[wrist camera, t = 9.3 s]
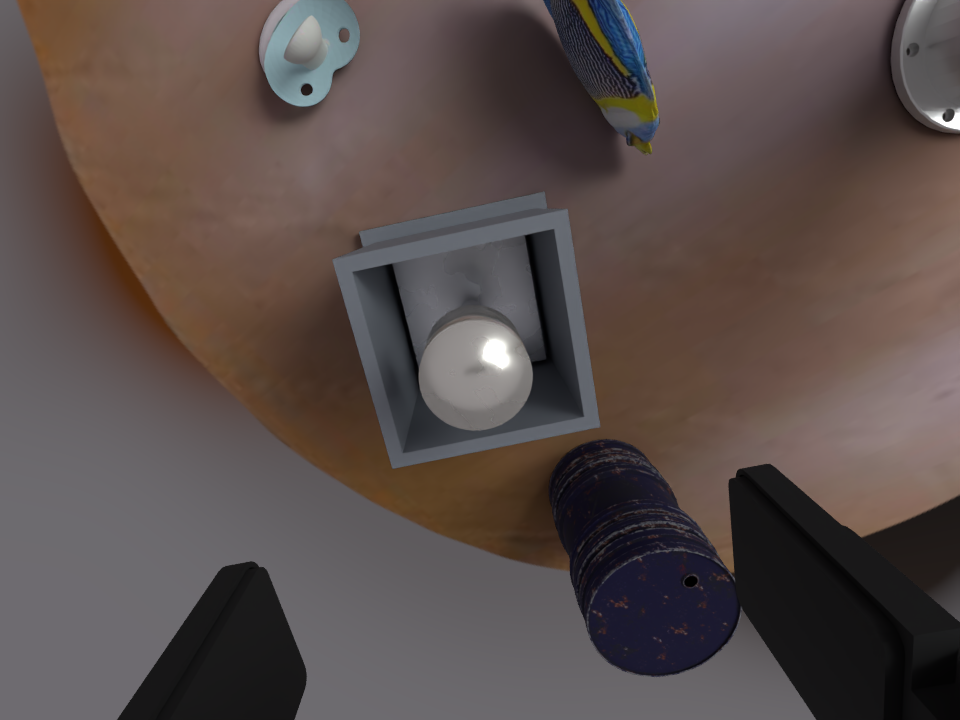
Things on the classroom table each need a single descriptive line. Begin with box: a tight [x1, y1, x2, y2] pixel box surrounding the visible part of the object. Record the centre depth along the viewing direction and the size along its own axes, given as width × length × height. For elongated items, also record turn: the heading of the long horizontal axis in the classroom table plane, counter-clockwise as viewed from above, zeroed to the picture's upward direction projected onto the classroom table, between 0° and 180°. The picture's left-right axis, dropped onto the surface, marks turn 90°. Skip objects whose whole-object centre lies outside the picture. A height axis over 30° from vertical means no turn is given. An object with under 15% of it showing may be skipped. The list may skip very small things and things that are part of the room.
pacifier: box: [259, 0, 360, 107], centre depth 32 cm, size 7×6×6 cm
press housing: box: [332, 192, 600, 469], centre depth 34 cm, size 14×14×14 cm
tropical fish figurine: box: [543, 0, 660, 155], centre depth 31 cm, size 16×3×10 cm, turn 37°
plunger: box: [392, 235, 546, 431], centre depth 30 cm, size 9×9×16 cm
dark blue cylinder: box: [549, 439, 742, 677], centre depth 39 cm, size 10×10×15 cm
